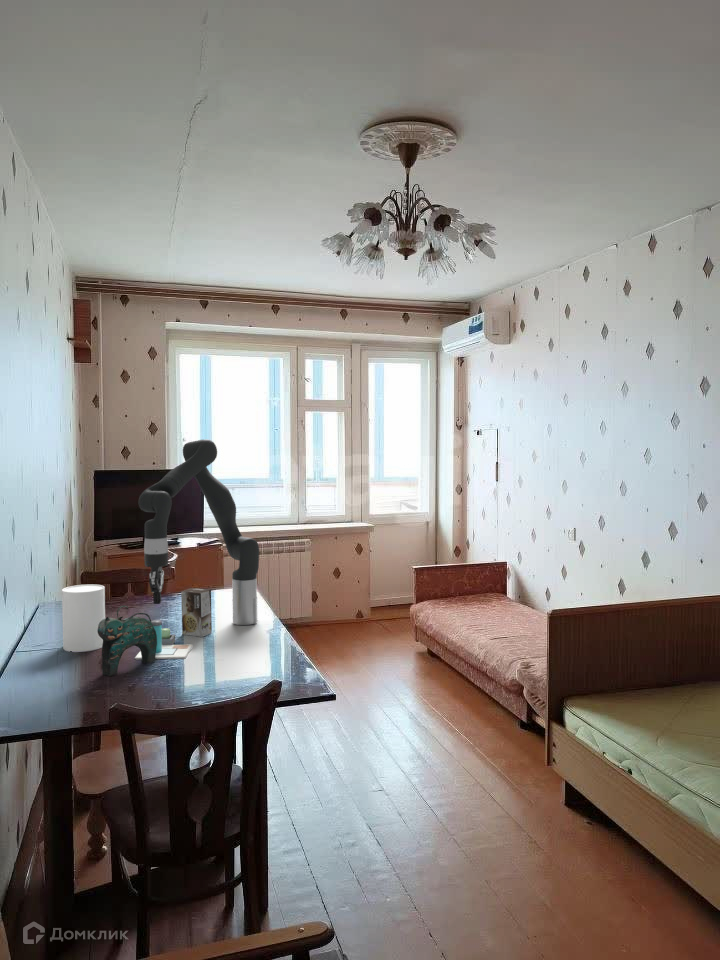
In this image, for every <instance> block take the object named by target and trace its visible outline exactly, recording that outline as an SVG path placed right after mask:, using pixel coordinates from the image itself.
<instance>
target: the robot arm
mask: <svg viewBox="0 0 720 960" xmlns="http://www.w3.org/2000/svg"><path fill="white" fill-rule="evenodd" d="M182 456H183V459H184V461H183V462H181V463H180V464H179V465H177V466H176V467H174V468H172V469H171V470H169V471H168V472H167V473H166V474H165V475H164V476H163V477H162V479H161V480H159V481H158V482H156V483H154V484H153V485H150V486H149V487H147V488H146V489H145V490H143V491H142V493H140V495H139V498H138V507H139V509H140V510H141V511H143V512H145V513H155V515H154V517H153V518H152V519H149V520H146V521H145V523H144V543H143V545H144V546H143V549H144V552H143V555H144V559H143V560H144V566H145V567H147V568H151V569H150V571H149V579H148V582H149V587H150V591H151V593H152V601H153V604H154V605H159V604H161V603H162V591H163V588H164V579H165V571H164V570H163V567H167V566H168V565H169V543H168V529H167V528H168V527H167V526H168V522H169V517H170V512H171V509H172V503H173V502H172V498H174V497H175V496H177V494H178V493H179V492H180V491H181V490H182V489H183V487H185V486H186V484H187V483H189V482H190V481H191V480H192V479H193V478H194V479H195V480H196V483H197V484H198V487H199V488H200V490H201V492H202V494H203V496H204V498H205V500H206V503H207V505H208V507H209V510H210V511H211V513H212V515H213V517H214V519H215V521H216V524H217V526H218V528H219V530H220V533H221V535H222V538H223V539H222V540H223V542H224V544H225V547H226V550H227V553H228V555H229V556H230V557H231V558H232V559H233V560H235V561H239V564H238V565H239V566H238V567H237V569H236V570H235V569H234V571H233V572H232V576H231V577H232V579H231V581H232V582H231V583H232V584H231V585H232V586H231V587H232V623H233V624H234V625H236V626H237V625H238V626H248V625H249V626H250V625H257V622H258V595H257V594H258V593H257V592H258V590H257V589H258V586H257V584H258V583H257V582H258V581H257V574H258V571H259V563H260V546H259V543H258V542H257V540H256V539H254V538H252V537H248V536H247V537H246V536H243V535H242V533H241V532H240V529H239V528H238V525H237V520H236V519H237V505H236V503H235V500H234V498H233V495H232V493H231V492H230V490H229V488H227V486H226V485H224V484H223V482H221V481H220V480H218V479H217V478H216V477H215V476H214V475H213V474H212V473H211V472H210V470H209V469H208V467H209V466H210V465H211V464H213V463H214V462H215V461H216V459H217V456H218V448H217V446H216V444H215V442H214V441H213V440H211V439H207V438H206V439H199V440H193V441H189V442H186V443H185V444H184V445H183V447H182Z"/></svg>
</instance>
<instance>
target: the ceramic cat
mask: <svg viewBox="0 0 720 960" xmlns="http://www.w3.org/2000/svg"><path fill="white" fill-rule="evenodd" d="M121 608H126V610H128V609H129V607H128V606H127V605H121V606H119V607H118V608H117V611H116V615H117V616H116V617H117V618H113V617H109V616H106V617H105V619H103V620H102V621H101V622H100V623H99V625H98V635H99V636H100V637H101V638H102V639H103V644H102V648H101V667H102V668H101V669H102V671H101V672H102V675H103V676H106V675H108V676H107V677H112V676H111V675H113V676H116V675H117V674H118V669H119V664H120V662H121V661H120V660H121V658H122V656H123V654H124V652H125V651H126V650H128V649H129V648H131V647H137V648H138V649H139V651H141V655H142V659H141V662H142V663H144V664H152V663H155V661H156V659H155V655H156V647H157V635H156V631H155V629H154V626H153V624H152V623H151V621H152V620H151V616H150V615H149V614H148V613H146V612H137V613H134V614H132V615H130V616H128V617H126V618H124V616H119V610H120V609H121ZM137 615H145V616H146V617H148V619H147V618H144V617H141V616H137ZM115 674H116V675H115Z"/></svg>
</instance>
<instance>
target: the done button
mask: <svg viewBox="0 0 720 960" xmlns="http://www.w3.org/2000/svg"><path fill="white" fill-rule="evenodd" d="M170 635H171V629H170V628H167V627H166V628H163V627H162V639H170Z"/></svg>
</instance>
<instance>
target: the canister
mask: <svg viewBox="0 0 720 960" xmlns="http://www.w3.org/2000/svg"><path fill="white" fill-rule="evenodd" d="M105 588H106V587H105V586H104V585H102V584H96V583H95V584H93V583H92V584H77V585H71V586H67V587H64V588H62V589H61V603H62V607H61V610H62V643H63V644H62V645H63V646H62V648H63V650H64V651H66V652H70V651H72V653H79V652H81V653H82V652H91V651H95V650H99V649H102V644H103V639H102V638H101V637H100V636H99V635H98V625H99V623H100V622H101V621H102V620H103V619H105V618H106V595H105V593H106V592H105V591H106V590H105Z"/></svg>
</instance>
